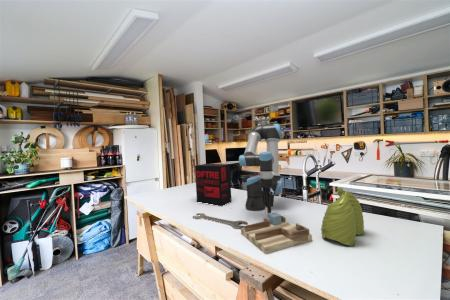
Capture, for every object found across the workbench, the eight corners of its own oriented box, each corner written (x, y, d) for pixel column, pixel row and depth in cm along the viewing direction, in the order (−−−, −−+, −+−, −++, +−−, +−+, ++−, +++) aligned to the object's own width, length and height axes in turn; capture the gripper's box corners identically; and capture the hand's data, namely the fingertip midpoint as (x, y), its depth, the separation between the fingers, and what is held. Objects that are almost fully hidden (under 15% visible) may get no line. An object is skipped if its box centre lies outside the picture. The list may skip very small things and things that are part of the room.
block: (269, 222, 124) (268, 214, 124) (276, 221, 126) (275, 212, 126) (274, 225, 119) (273, 216, 119) (281, 224, 121) (281, 215, 121)
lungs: (336, 224, 124) (334, 183, 123) (367, 232, 112) (366, 186, 111) (316, 239, 107) (314, 191, 106) (351, 250, 95) (349, 196, 95)
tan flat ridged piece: (241, 233, 118) (240, 222, 118) (281, 224, 128) (281, 214, 128) (265, 253, 96) (264, 240, 96) (312, 240, 106) (311, 228, 106)
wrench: (189, 218, 148) (189, 215, 148) (199, 214, 156) (199, 211, 156) (241, 231, 123) (241, 227, 123) (250, 225, 131) (250, 221, 131)
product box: (197, 202, 186) (194, 165, 185) (207, 198, 198) (205, 163, 197) (221, 206, 171) (219, 166, 170) (231, 201, 182) (229, 164, 181)
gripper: (255, 177, 132) (257, 215, 133) (267, 180, 120) (269, 222, 121) (266, 176, 135) (267, 213, 136) (278, 178, 123) (280, 219, 124)
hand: (268, 217), depth 128 cm, fingers closed
